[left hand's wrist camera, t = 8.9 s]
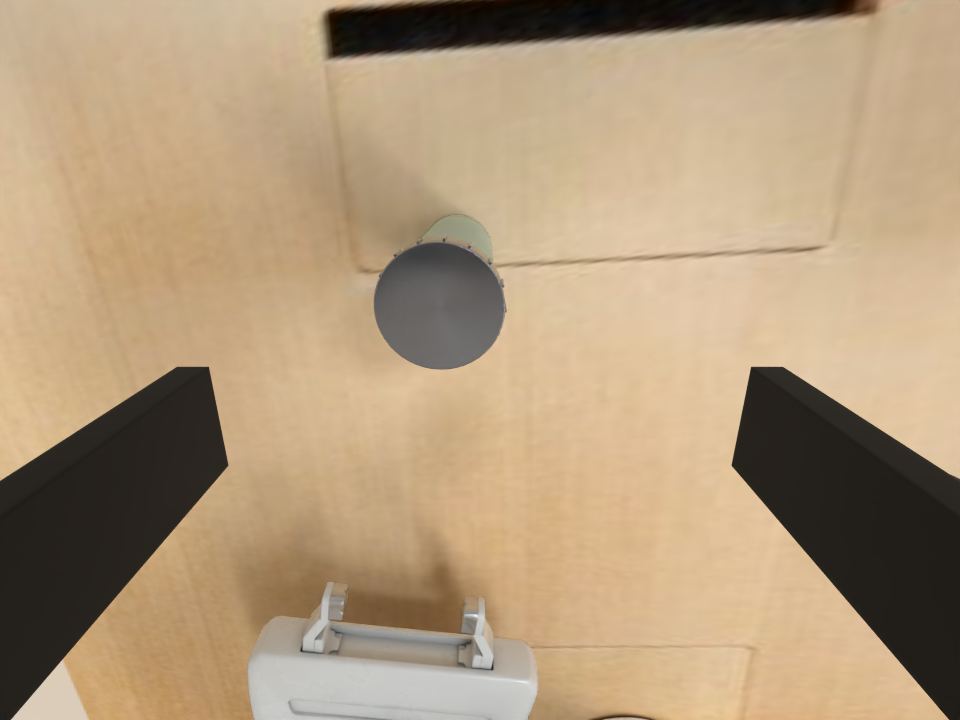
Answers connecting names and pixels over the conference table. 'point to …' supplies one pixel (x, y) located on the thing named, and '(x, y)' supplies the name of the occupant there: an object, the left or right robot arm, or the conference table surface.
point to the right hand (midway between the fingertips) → (406, 596)
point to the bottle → (463, 232)
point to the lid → (440, 303)
